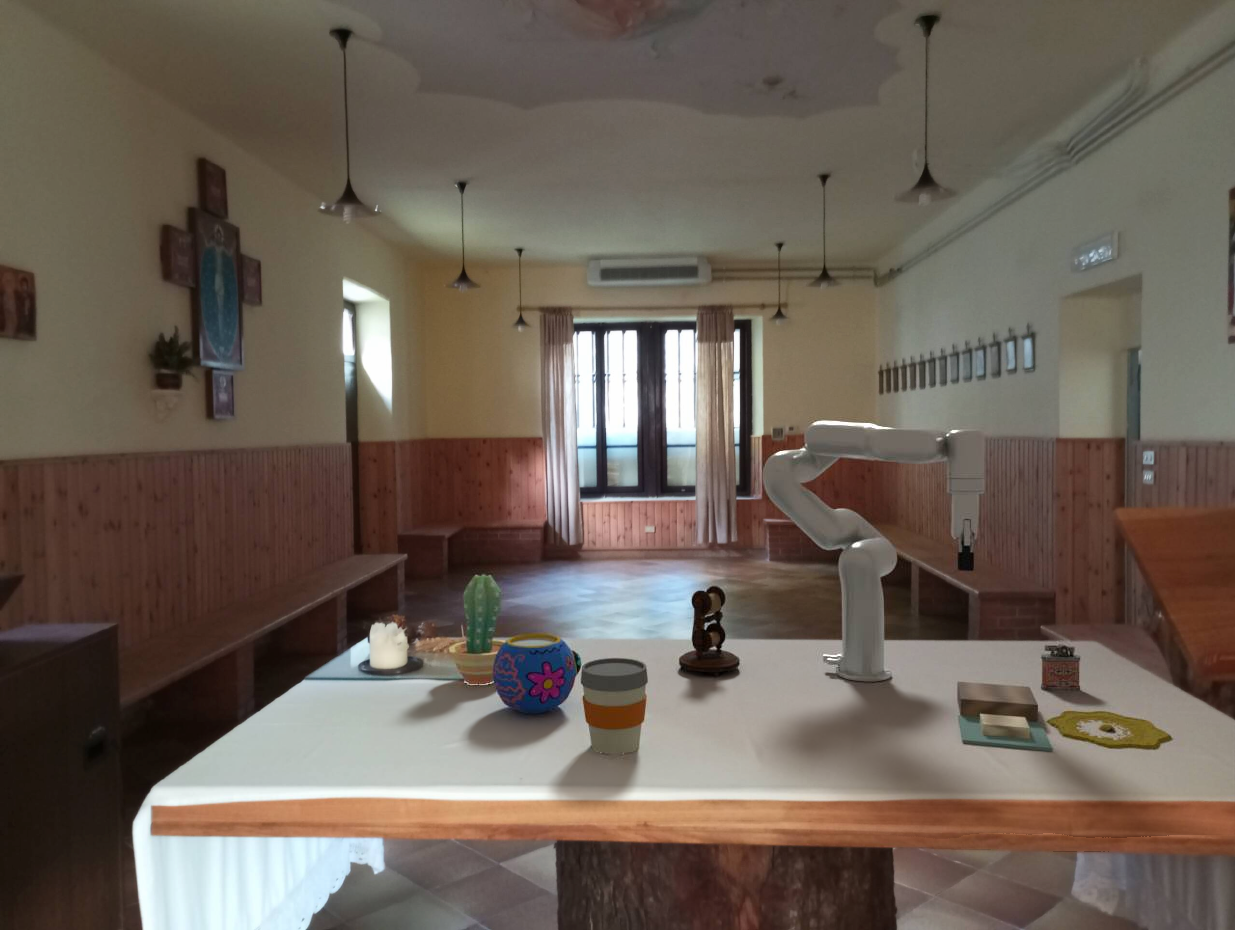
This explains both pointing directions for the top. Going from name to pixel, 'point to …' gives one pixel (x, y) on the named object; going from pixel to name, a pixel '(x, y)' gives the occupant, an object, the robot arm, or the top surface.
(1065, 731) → the decorative medallion
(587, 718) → the reusable coffee cup
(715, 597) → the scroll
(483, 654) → the potted cactus
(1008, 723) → the tile
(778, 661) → the top surface
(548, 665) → the ceramic pot
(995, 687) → the brown flat block
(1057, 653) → the lighter
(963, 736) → the mat
